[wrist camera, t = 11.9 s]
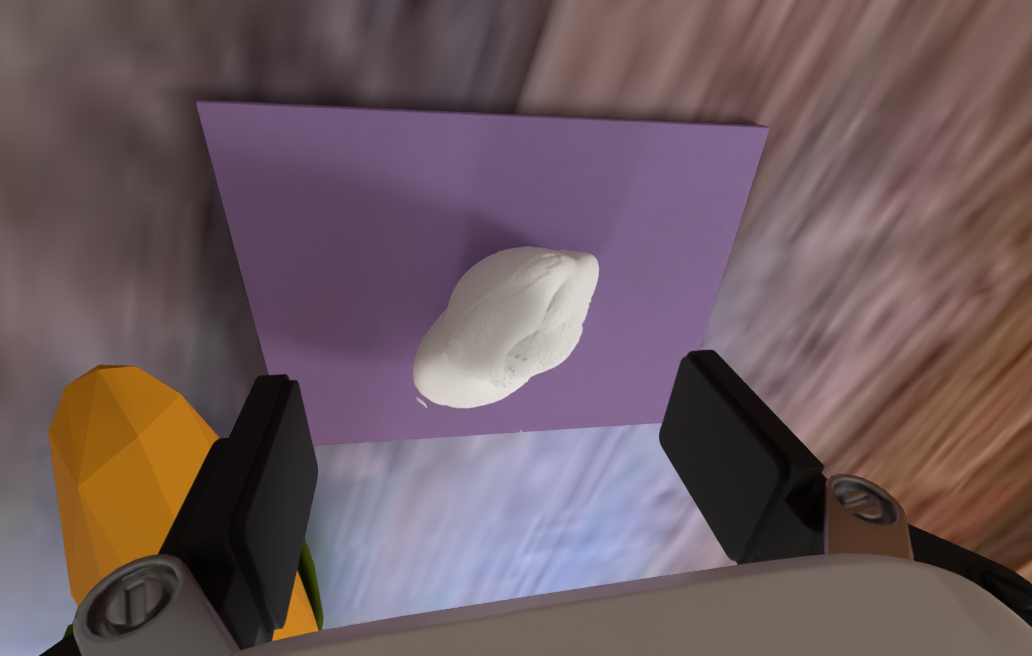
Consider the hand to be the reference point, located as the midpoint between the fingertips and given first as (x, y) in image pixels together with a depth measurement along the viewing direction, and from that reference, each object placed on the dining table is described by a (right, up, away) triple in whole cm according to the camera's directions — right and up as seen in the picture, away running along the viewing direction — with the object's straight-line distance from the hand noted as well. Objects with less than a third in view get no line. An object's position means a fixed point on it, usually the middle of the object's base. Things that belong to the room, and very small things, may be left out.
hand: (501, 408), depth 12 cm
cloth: (0, +3, +5) cm, 6 cm away
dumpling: (0, +3, +5) cm, 5 cm away
